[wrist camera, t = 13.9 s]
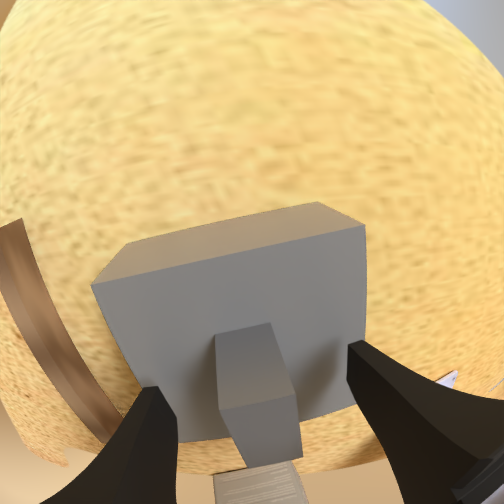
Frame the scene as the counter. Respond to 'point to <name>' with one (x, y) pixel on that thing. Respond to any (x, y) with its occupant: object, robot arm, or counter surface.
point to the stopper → (50, 334)
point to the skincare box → (260, 486)
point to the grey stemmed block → (243, 323)
